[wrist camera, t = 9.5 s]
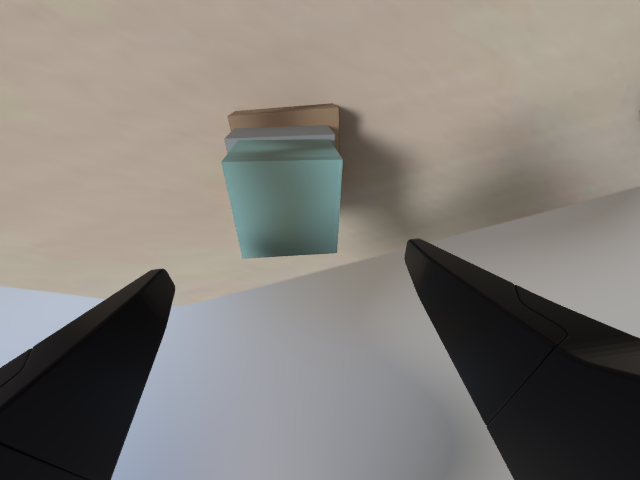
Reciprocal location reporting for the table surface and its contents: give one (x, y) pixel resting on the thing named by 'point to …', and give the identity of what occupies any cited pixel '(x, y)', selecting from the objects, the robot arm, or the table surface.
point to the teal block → (284, 196)
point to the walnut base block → (288, 118)
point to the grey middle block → (279, 134)
